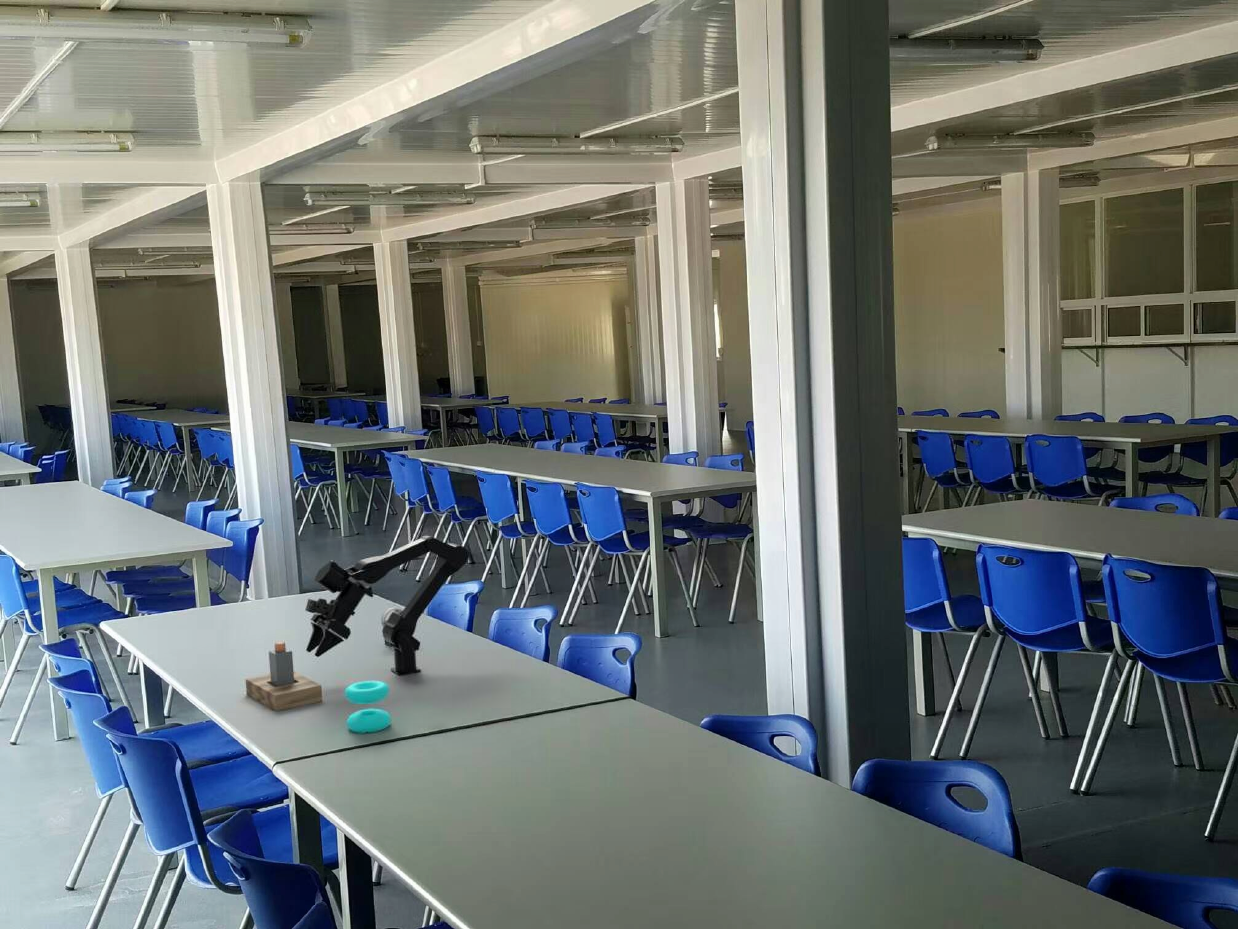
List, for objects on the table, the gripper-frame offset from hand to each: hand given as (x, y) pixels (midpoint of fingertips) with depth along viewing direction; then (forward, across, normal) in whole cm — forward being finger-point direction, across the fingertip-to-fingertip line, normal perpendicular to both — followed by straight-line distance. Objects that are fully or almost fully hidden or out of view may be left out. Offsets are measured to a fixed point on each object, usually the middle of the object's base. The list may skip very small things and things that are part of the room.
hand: (311, 653), depth 316 cm
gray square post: (+12, +2, -1) cm, 12 cm away
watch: (-16, -33, +29) cm, 47 cm away
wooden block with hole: (+13, +2, 0) cm, 13 cm away
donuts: (+8, +39, +10) cm, 41 cm away
